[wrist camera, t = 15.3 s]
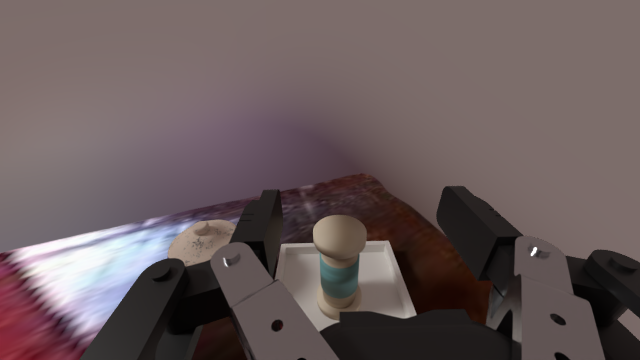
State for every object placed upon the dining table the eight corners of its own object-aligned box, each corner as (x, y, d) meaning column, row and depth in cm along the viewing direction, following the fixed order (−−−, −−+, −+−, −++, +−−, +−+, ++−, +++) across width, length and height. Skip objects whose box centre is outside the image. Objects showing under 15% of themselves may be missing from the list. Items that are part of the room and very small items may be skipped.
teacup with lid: (263, 275, 37) (251, 216, 31) (215, 327, 30) (188, 262, 25) (214, 248, 43) (196, 194, 37) (163, 287, 36) (132, 227, 30)
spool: (317, 321, 30) (312, 251, 24) (317, 280, 35) (313, 215, 29) (364, 320, 30) (371, 249, 24) (357, 279, 35) (361, 214, 29)
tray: (261, 383, 25) (257, 371, 24) (283, 254, 41) (281, 244, 40) (431, 378, 25) (436, 366, 24) (387, 251, 41) (388, 240, 39)
